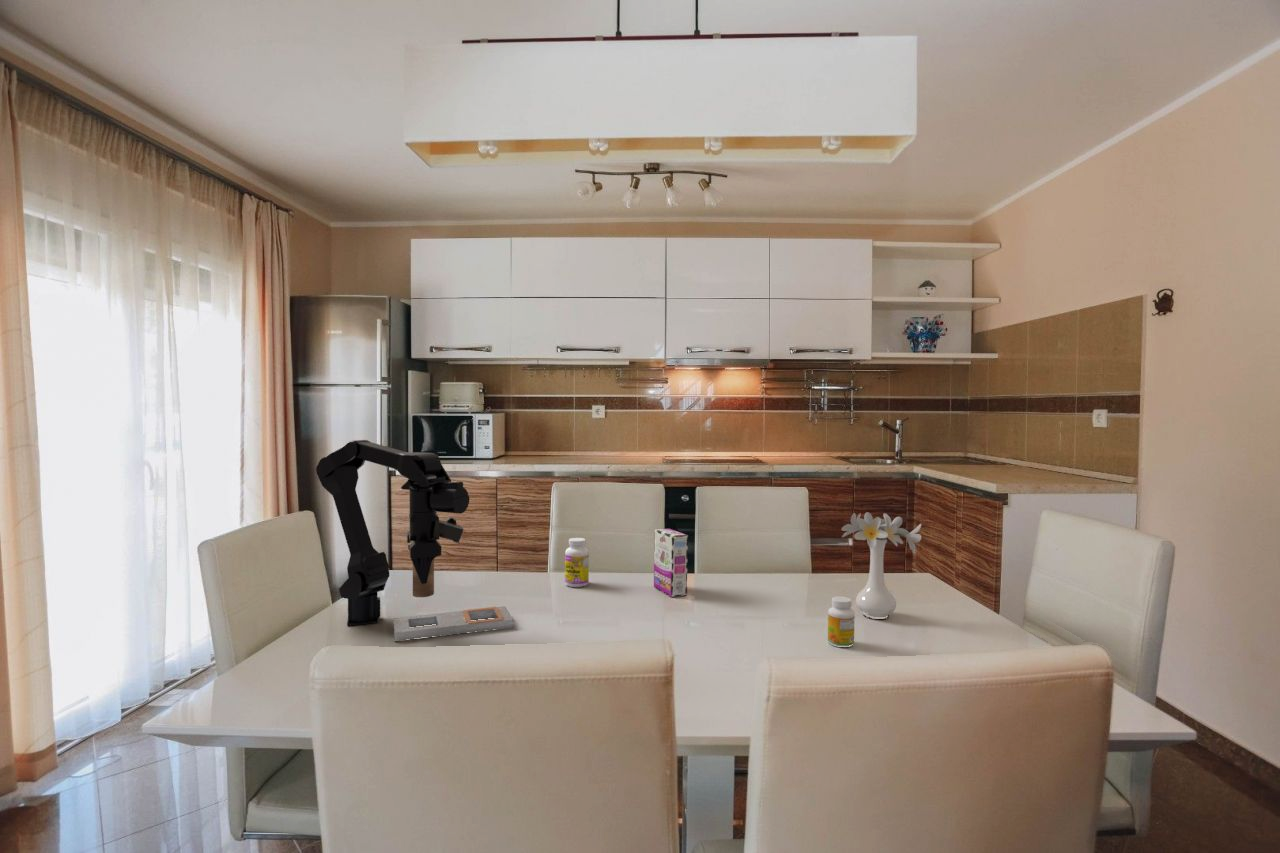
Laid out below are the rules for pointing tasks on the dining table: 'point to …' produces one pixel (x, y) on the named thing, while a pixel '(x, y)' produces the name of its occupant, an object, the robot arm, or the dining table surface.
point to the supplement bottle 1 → (576, 563)
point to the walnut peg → (420, 588)
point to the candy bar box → (670, 562)
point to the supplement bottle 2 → (841, 622)
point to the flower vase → (878, 559)
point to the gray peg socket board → (452, 623)
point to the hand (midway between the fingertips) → (423, 580)
